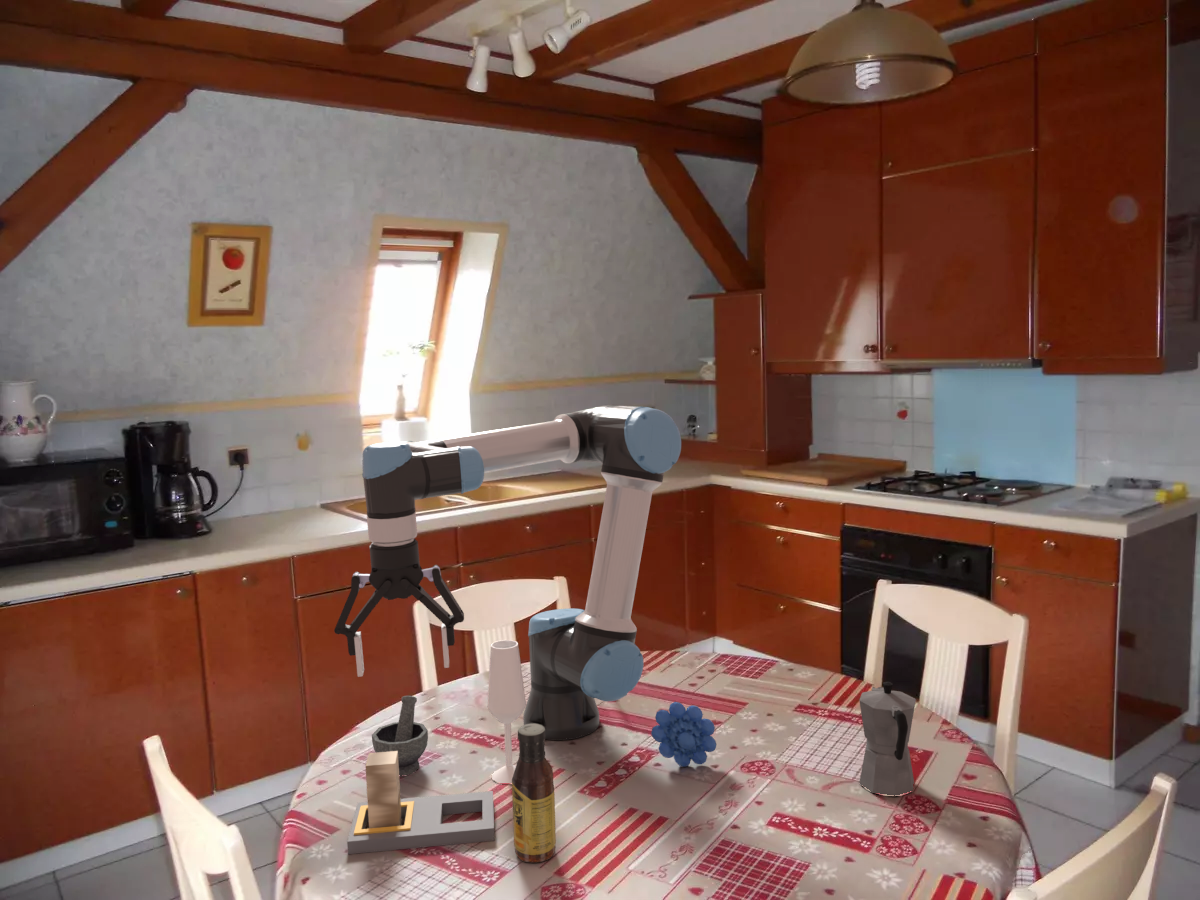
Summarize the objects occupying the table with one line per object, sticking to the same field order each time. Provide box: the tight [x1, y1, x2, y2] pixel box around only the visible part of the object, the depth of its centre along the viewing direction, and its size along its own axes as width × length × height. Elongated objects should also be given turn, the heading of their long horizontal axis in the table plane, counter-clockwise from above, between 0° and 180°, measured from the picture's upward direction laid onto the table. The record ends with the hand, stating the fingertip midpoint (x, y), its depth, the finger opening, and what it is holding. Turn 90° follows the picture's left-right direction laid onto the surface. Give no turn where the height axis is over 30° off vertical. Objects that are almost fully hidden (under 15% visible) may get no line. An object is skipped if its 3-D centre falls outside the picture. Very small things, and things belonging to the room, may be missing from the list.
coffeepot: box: [858, 681, 917, 796], centre depth 154 cm, size 15×9×18 cm, turn 0°
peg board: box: [346, 790, 496, 855], centre depth 147 cm, size 22×12×2 cm, turn 97°
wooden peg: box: [365, 751, 403, 829], centre depth 145 cm, size 4×4×12 cm
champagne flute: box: [487, 639, 527, 783], centre depth 162 cm, size 7×7×24 cm
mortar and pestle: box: [371, 695, 429, 777], centre depth 167 cm, size 11×9×12 cm
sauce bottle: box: [511, 724, 557, 864], centre depth 137 cm, size 6×6×20 cm
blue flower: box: [650, 701, 717, 768], centre depth 163 cm, size 12×7×12 cm, turn 93°
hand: (404, 669), depth 149 cm, fingers open, 13 cm apart
